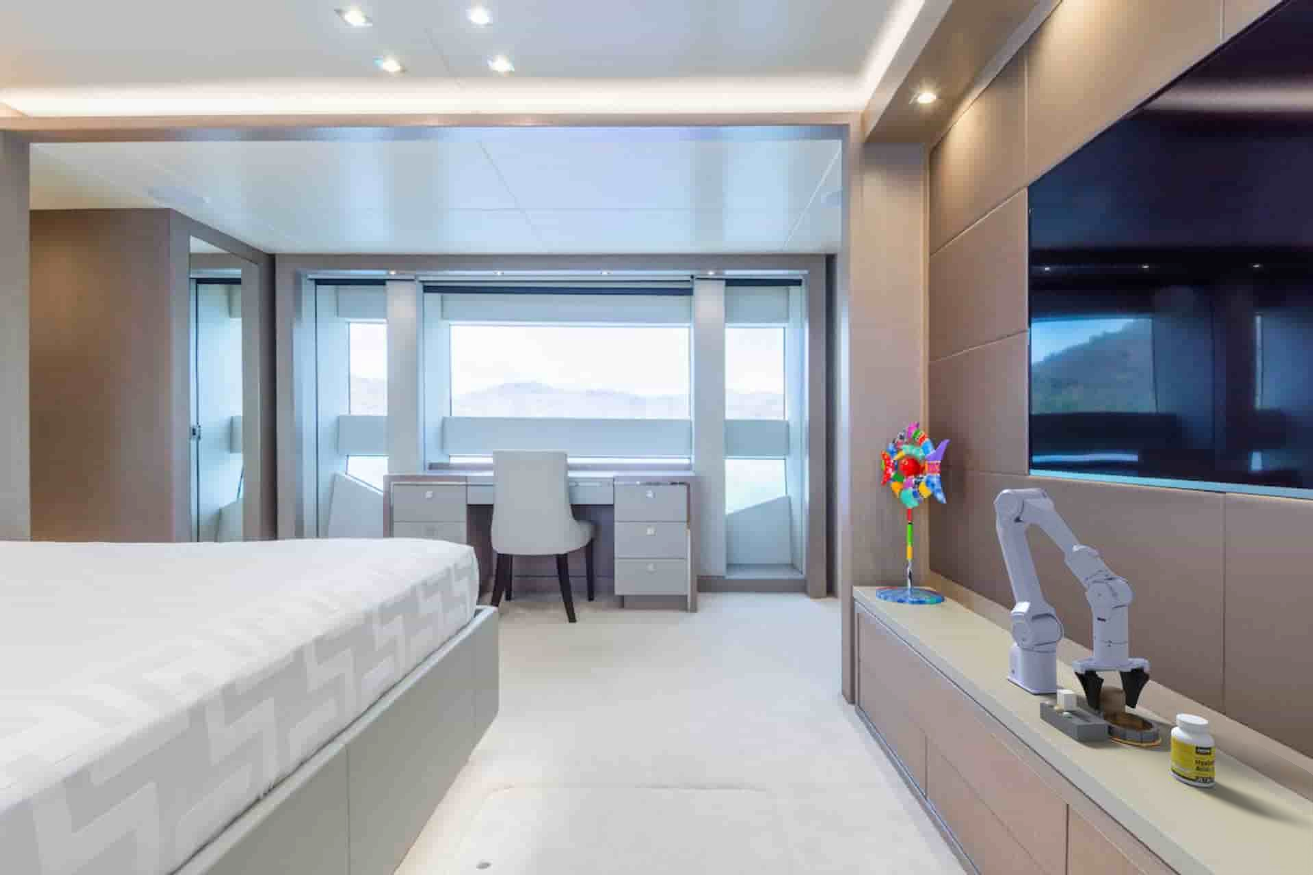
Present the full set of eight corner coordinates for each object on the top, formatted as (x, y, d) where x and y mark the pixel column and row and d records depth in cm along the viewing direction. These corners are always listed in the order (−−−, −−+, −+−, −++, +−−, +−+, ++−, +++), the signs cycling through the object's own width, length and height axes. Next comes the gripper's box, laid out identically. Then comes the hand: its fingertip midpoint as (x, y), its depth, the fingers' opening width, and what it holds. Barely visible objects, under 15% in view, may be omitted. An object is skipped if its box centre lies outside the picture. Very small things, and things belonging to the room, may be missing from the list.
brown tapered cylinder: (1092, 710, 130) (1092, 685, 130) (1113, 709, 130) (1113, 685, 130) (1109, 720, 125) (1109, 694, 125) (1131, 719, 126) (1131, 693, 126)
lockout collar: (1082, 722, 124) (1082, 711, 124) (1131, 720, 125) (1130, 708, 125) (1123, 747, 114) (1123, 734, 114) (1176, 744, 115) (1176, 731, 115)
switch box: (1040, 717, 127) (1040, 699, 127) (1069, 716, 127) (1068, 698, 127) (1077, 741, 117) (1076, 721, 117) (1108, 739, 117) (1107, 720, 117)
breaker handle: (1057, 706, 124) (1056, 689, 124) (1068, 705, 125) (1068, 689, 125) (1064, 710, 122) (1064, 693, 122) (1076, 709, 123) (1076, 693, 123)
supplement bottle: (1198, 790, 100) (1197, 727, 100) (1163, 773, 105) (1161, 713, 105) (1223, 785, 101) (1222, 723, 102) (1187, 768, 107) (1186, 709, 107)
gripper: (1091, 646, 123) (1092, 717, 123) (1161, 644, 124) (1163, 714, 124) (1065, 635, 130) (1066, 702, 130) (1132, 633, 131) (1133, 699, 131)
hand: (1111, 707), depth 128 cm, fingers open, 7 cm apart
